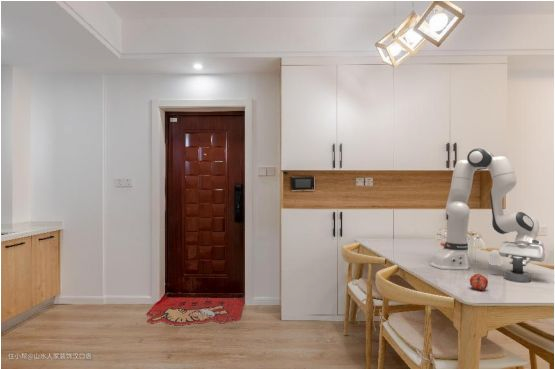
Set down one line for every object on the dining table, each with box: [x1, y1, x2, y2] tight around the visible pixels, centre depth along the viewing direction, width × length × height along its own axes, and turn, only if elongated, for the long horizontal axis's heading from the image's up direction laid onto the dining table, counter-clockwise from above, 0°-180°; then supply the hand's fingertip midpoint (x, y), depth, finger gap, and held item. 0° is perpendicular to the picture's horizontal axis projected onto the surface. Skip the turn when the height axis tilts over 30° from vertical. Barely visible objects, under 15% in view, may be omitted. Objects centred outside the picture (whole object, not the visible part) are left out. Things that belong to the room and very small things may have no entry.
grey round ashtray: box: [503, 268, 532, 284], centre depth 188 cm, size 11×11×4 cm
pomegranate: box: [469, 273, 489, 291], centre depth 170 cm, size 7×7×10 cm
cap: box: [512, 256, 524, 273], centre depth 188 cm, size 4×4×8 cm
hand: (517, 264), depth 187 cm, fingers closed on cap, 4 cm apart
